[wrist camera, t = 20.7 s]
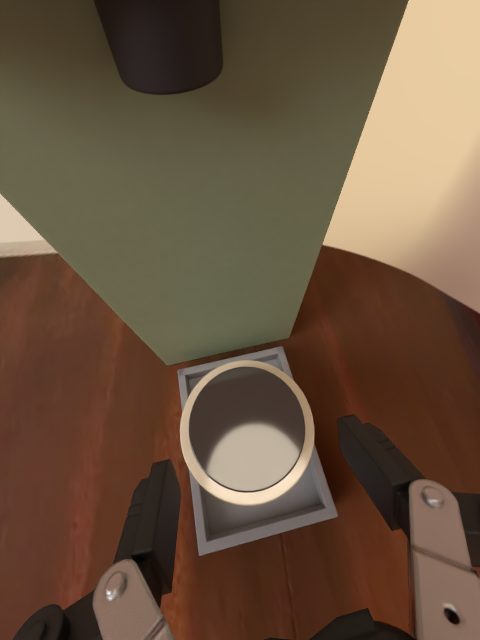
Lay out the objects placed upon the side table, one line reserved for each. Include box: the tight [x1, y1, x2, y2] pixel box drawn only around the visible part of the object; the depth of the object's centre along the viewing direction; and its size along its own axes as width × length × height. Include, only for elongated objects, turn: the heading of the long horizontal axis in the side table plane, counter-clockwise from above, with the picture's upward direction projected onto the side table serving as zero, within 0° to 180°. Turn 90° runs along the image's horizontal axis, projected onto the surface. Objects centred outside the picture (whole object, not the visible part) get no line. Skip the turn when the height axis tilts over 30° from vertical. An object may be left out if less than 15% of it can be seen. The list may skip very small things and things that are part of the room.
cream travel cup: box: [180, 360, 315, 506], centre depth 15 cm, size 6×6×11 cm
